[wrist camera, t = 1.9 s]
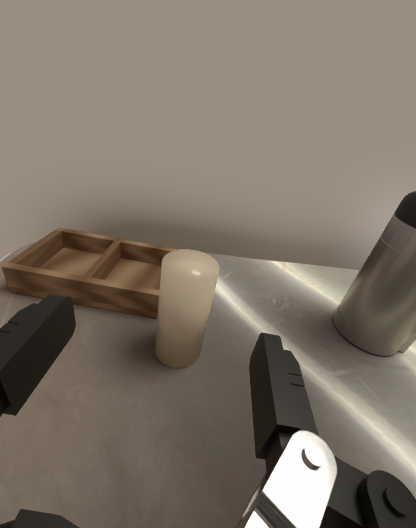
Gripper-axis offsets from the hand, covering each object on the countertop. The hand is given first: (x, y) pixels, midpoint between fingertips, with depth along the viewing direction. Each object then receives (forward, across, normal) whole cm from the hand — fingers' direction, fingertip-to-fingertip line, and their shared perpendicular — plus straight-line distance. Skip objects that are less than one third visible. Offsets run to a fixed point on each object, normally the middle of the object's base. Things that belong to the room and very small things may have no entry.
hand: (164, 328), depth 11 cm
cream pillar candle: (+12, 0, +16) cm, 20 cm away
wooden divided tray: (+22, +13, +16) cm, 31 cm away
